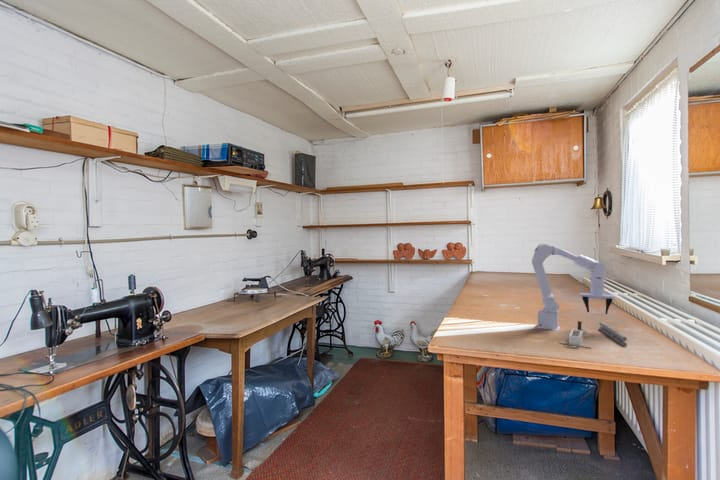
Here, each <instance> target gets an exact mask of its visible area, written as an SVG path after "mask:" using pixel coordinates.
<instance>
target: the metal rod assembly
mask: <svg viewBox="0 0 720 480" xmlns="http://www.w3.org/2000/svg"><path fill="white" fill-rule="evenodd" d="M598 324H599V326H600V327H598V329H599V330H600V332H602V333H604V334H605V335H607V337H609V338H611V340H614V341H615V342H616V343H618V344H620V345H621V346H623V347H626V346H628V343H627V341H628V338H627V337H626V336H625V335H624V334H621V333H620V332H619V331H618V330H616V329H614V328H612V327H611V326H609V325H608V324H606V323H605V322H603V321H600V322H598Z"/></svg>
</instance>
